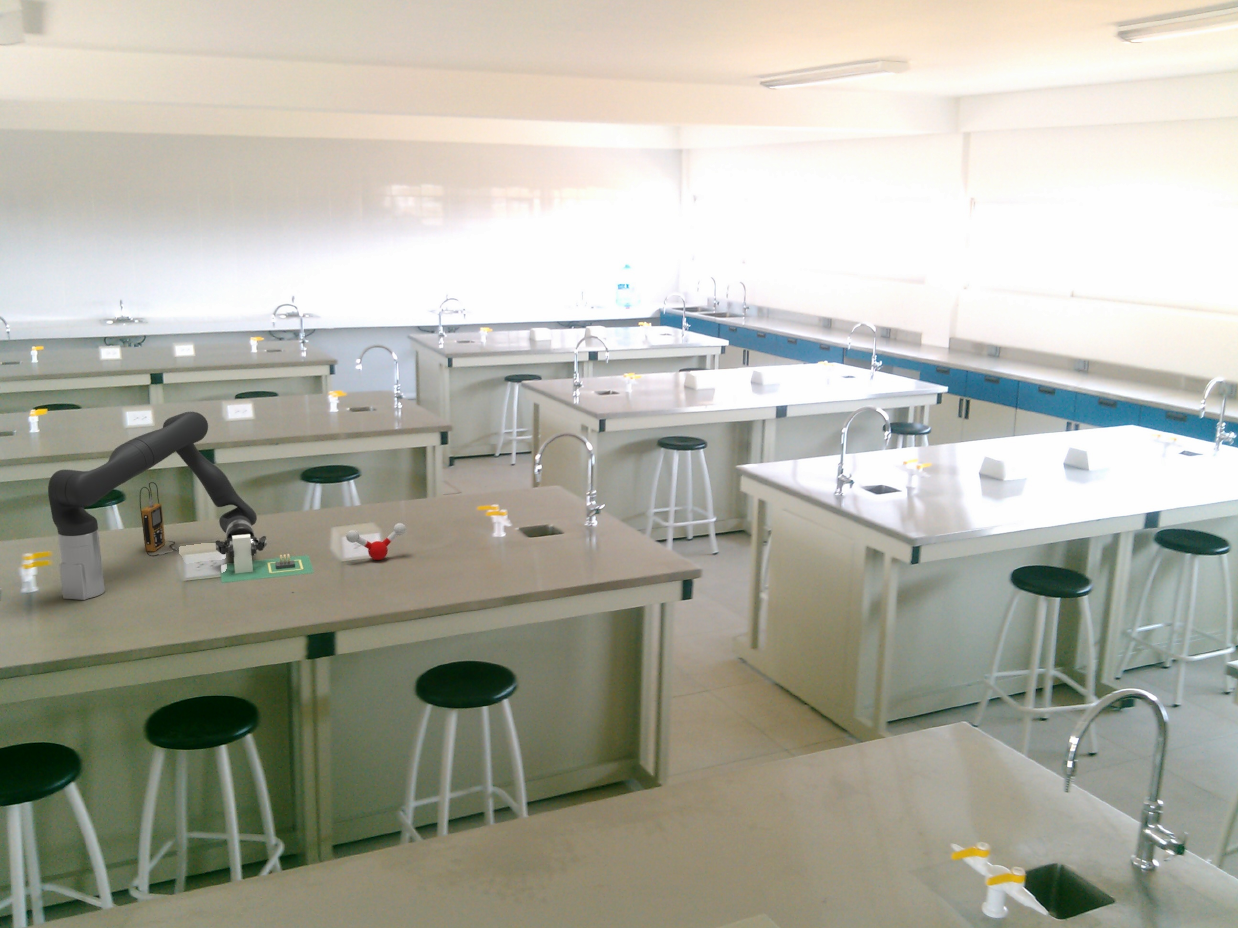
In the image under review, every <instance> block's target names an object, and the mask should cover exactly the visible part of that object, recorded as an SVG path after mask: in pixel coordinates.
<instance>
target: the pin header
mask: <svg viewBox="0 0 1238 928" xmlns="http://www.w3.org/2000/svg"><path fill="white" fill-rule="evenodd" d="M286 555H287V556H286ZM286 557H287V559H288V561H286ZM290 557H291V556H290V553H287V554H283V555H282V554H279V558H280V562H275V564H276V569H284V568H294V567H295V562H294V560H291V561H290ZM282 558H284V561H282Z"/></svg>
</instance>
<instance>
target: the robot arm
mask: <svg viewBox="0 0 1238 928" xmlns="http://www.w3.org/2000/svg"><path fill="white" fill-rule="evenodd" d="M208 431H209V423H208V420H207V418H206V417H205V416H204V415H203V414H201V413H199V412H196V411H186V412H182V413H180V414H177V415H173V416H171V417H168V418H167V419H165V421H164V422H163V425H162V427H161V428H159V429H156V430H152V431H150V432H149V431H148V432H147V433H145V434H144V433H143V434H142V435H138V436H136V437H133V438H131V439H129V440H127V441H125V442H124V443H121V444H119V446H117V447H116V448H114V450H112V451H111V454H110V455H109V458H108V461H107V462H106V463H104V464H103V465H100V466H98V467H96V468H93V469H91V470H86V471H85V470H76V469H74V470H73V469H60V470H57V471H55V472H54V473H53V474H52V475H51V477H50V478H49V481H48V485H47V494H48V502H49V506H50V512H51V517H52V522H53V525H55V527H56V529H57V530H56V531H57V537H58V545H59V554H60V555H59V556H60V563H59V565H58V566H59V575H60V583H61V591H62V598H63V600H65V599H66V600H81V601H86V600H88V599H91V598H94V597H99V596H100V595H102V594H104V593H105V581H104V573H103V561H102V554H101V553H102V552H101V545H100V534H99V526H98V525H99V524H98V520H97V518H96V517H95V516H94V515H92V514H91V513H89V512H88V511H87V510H86V509H85V508H86V507H91V506H92V505H94V504H96V503H97V502H98V501H100V500H101V499H103V498H104V497H105V496H107V495H108V494H109V493H110V492H112V491H113V490H114V489H117V487H120V486H121V485H123V484H125V483H126V482H128V481H129V480H131V479H133V478H134V477H136V476H138V475H140V474H143V473H144V472H146V471H147V470H150V469H151V468H153V467H154V466H157V464H159V463H161V462H162V461H164V460H165V459H167V458H168V457H170V456H171V455H173V454H174V453H175V452H176V453H177V455H178V456H179V457H180V458H181V460H182V461H183V462H184V463H185V464H186V466H188V468H189V469H190V470H191V471H192V472H193V475H195V476H196V478H197V479H198V480H199V481H200V483H201V485H202V486H203V488H204V490H205V492H206V493H207V495H208V496H209V497H210V500H211V501H212V503H213V504H214V506H215V507H217V508H223V507H226V506H235V508H233V509H231V510H229V511H227V512H225V513H223V514H222V515H220V517H219V519H218V520H219V521H218V523H219V526H220V528H221V530H222V531H223V533H225V537H226V538H225V541H222V540H219V539H218V540H215V541H214V542H215V550H216V551H217V552H218V553H219V554H221V555H226V554H228V557H231V558H232V559H234V549H233V540H232V536H235V535H246V534H250V538H251V555H252V557H253V556H255V555H256V554H257V551H259V552H261V551H264V549H265V548H266V547H267V544H268V543H267V536H266V535H262V536H261V537H258V538H257V537H256V536H255V532H254V529H253V527H252V526H253V525H255V524H256V523H257V519H258V517H257V514H256V512H255V509H253V508H252V507H251V506H250V505H249V504H248V503H246V502H245V500H243V499H242V497H241V496H240V495H239V494H238V493H237V492H236V490H235V488H234V486H233V485H232V483H231V482H230V480H229V478H228V476H226V474H225V473H224V472H223V471H222V469H220V468H219V467H218V466H216V465H215V464H214V463H213V462H211V461H210V460H209V459H207V458H206V457H205V456H204V455H203V454H202V452H200V451H199V450H198V448H197V446H196V445H195V443H198V442H200V441H202V440H203V439H204V438H205V437H206V435H207V433H208Z"/></svg>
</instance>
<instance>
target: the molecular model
mask: <svg viewBox="0 0 1238 928" xmlns="http://www.w3.org/2000/svg"><path fill="white" fill-rule="evenodd" d="M406 531H407V527H406V525H405V524H403V523H401V522H398V523H395V525H394V526H393V531H392V532H391V533H390V534H389V535H388V536H387V537H386V538H384V540H383V541H380V540H376V541H373V542H370V541H368V540H366V539H365V538H363V537H362V536H360V533H359V532H358V531H357V530H356V529H351V530H349V531H348V532H347V533H346V535H345V536H346V537H345V538H346V540H347V541H348V542H349V543H357V544H358V545H360V546H362V547H364V548H366V549H367V553H368V555H369V557H370V558H371V559H372V560H375V561H381V560H383V559H384V558H385V557H387V555H388V546H389V545H390V544H391V543H392V542H393V541H394V540H395V539H396V538H397V537H398V536H400V537H401V536H403V535H405V534H406Z"/></svg>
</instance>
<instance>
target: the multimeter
mask: <svg viewBox="0 0 1238 928" xmlns="http://www.w3.org/2000/svg"><path fill="white" fill-rule="evenodd" d="M151 484H154V485H155V487H156V493H157V494H156V495H157V497H156V498H157V502H158V503H154V501H153V495H152V489H151V486H150V485H151ZM148 487H149V488H148ZM148 487H147V486H142V487H141V488H140V490H139V509H140V516H141V524H142V531H143V534H142V535H143V543H144V544H143V545H144V551H145V552H146V554H147V555H148V556H149V557H150V556H151V557H157V556H162V555H165V553H166V554H168V553H170V552H173V551H174V550H175V551H178V550H177V549H178V548H177V547H174V546H173V545H175V543H176V542H175V541H174V542H173V543H172V544H170V545H168V546H169V548H172V549H173V550H168V551H163V552H159V553H157V554H153V555H152V554H149V552H156V551H157V550H158V549H161V547H164V546H165V543H166V541H165V540H166V539H165V529H164V519H163V518H164V516H163V507H162V506H163V505H162V503H160V500H159V489H158V485H157V483H156V482H149V483H148ZM143 489H146V490H148V500H149V501H148V506H145V507H144V508H142V505H141V504H142V503H141V502H142V501H141V495H142V494H141V493H142V490H143ZM163 545H164V546H163Z"/></svg>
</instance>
